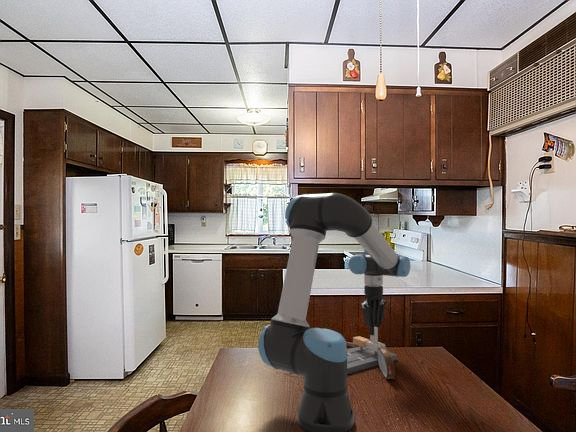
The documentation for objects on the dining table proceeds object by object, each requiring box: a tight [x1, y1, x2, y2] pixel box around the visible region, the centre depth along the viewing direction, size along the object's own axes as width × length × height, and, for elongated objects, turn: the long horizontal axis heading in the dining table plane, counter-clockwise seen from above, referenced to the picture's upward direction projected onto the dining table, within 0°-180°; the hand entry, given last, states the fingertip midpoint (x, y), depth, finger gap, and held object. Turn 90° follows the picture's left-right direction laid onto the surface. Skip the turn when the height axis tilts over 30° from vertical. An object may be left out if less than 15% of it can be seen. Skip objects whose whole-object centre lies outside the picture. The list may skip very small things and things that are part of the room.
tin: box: [378, 346, 395, 380], centre depth 133 cm, size 15×3×8 cm, turn 178°
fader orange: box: [352, 335, 370, 350], centre depth 151 cm, size 4×6×4 cm, turn 32°
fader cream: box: [367, 340, 386, 355], centre depth 146 cm, size 4×6×4 cm, turn 32°
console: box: [347, 346, 398, 375], centre depth 145 cm, size 30×15×3 cm, turn 122°
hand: (374, 342), depth 155 cm, fingers closed
